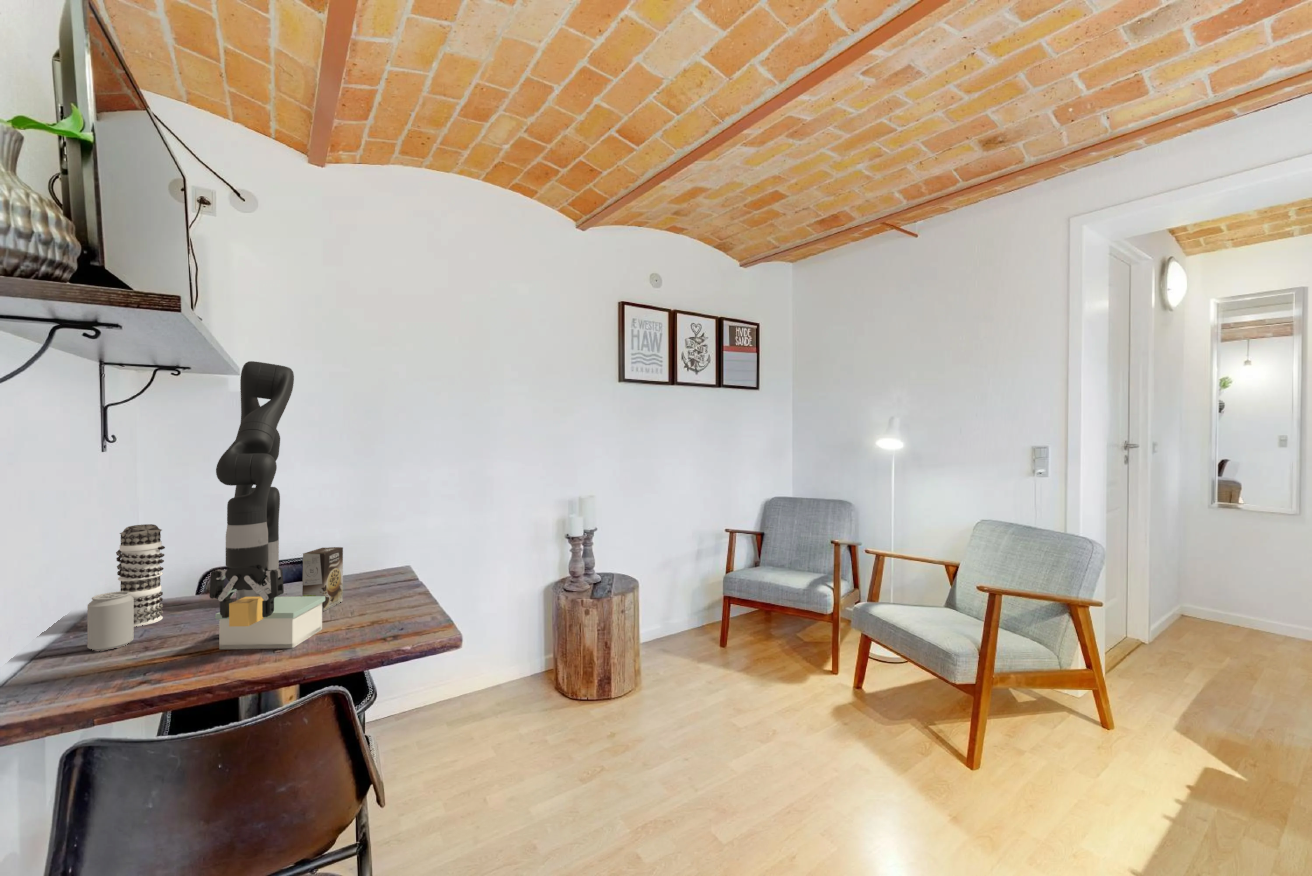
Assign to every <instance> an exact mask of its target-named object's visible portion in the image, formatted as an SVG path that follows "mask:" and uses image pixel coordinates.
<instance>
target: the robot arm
mask: <svg viewBox="0 0 1312 876" xmlns="http://www.w3.org/2000/svg"><path fill="white" fill-rule="evenodd" d="M242 366H243V367H242V368H241V372H240V385H239V386H240V425H239V427H238V431H237V435H236V437H235V440H234V441H233V442H232V444H230V446H229V447H228V448H227V449H226V450H225V451H224V453H223V454H222V455H221V456H220V458H219V459H218V462H217V464H216V466H215V475H216V478H217V479H218V481H219V482H220V483H221V484H223V485H226V486H235V490H234V497H232V498H229V500H228V502H227V507H226V510H227V511H226V523H227V524H226V531H225V567H226V569H224V568H220V569H215V570H214V571H211V573H210V580H209V581H210V583H209V599H216V600H217V601H219V612H220V615H222V618H228V617H229V603H232V602H233V598H232V597H233V595H234V594H235V593H236V594H235V598H236V599H235V601H236V600H239V599H241V598H244V597H262V598H263V601H262V617H268V616H270V615H271V614H272V613H273V612H274V598H275V597H280V596H281V595H283V594H284V592H285V590H284V575H283V573H284V572H283V571H284V570H283V568H281V567H280V565H279V563H280V561H279V558H280V554H279V553H280V550H279V548H280V547H279V546H280V545H279V544H280V541H279V539H280V537H279V535H280V533H279V530H280V529H279V528H280V527H279V525H280V524H279V521H280V506H281V494H280V490H279V489H278V488H277V487H276V486H272V484H273V482H274V478H275V476H276V472H277V468H278V467H277V462H276V461H277V460H278V458H279V456H280V455H279V454H280V445H281V434H280V433H279V431H278V429H277V428H278V424H279V423H280V421H281V418H282V417H283V414H284V412H285V410H286V407H287V405H288V404H289V401H290V399H291V396H292V393H293V389H294V383H295V374H294V371H293V369H292V368H290V367H288V366H286V365H285V366H284V365H280V364H275V363H274V364H273V363H269V362H260V361H253V360H250V361H247V362H245V363H244V364H243V365H242ZM259 399H264V400H265V399H266V400H269V401H267V402H265V403H264V404H263V405H260V403H259V402H260V401H259ZM253 486H254V487H253ZM226 579H227V580H228V582H227V584H226V586H225V580H226ZM224 586H225V587H224Z"/></svg>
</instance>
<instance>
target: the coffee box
mask: <svg viewBox="0 0 1312 876" xmlns="http://www.w3.org/2000/svg"><path fill="white" fill-rule="evenodd" d="M343 561H344V547H341V546H337V547H336V546H331V547H330V546H329V547H319V548H316V549H314V550H310V551H307V552H303V553H302V596H325V601H324V602H322V612H325V611H327V610H330V609H332V608H333V607H335V606H337V605H339V604H341V603H343V602H342V601H343V598H344V592H343V591H344V589H343V588H344V587H343V585H344V584H343V583H344V576H343V574H344V570H343V569H344V562H343ZM340 602H341V603H340ZM336 604H337V605H336Z"/></svg>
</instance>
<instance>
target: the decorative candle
mask: <svg viewBox="0 0 1312 876" xmlns="http://www.w3.org/2000/svg"><path fill="white" fill-rule="evenodd" d="M162 531H163V529H161V528H159V526H158V525H156V524H148V523H147V524H136V525H130V526H127V527H125V528H124V529H123V531H122V532H119V534H120V544H119V549H118V550H117V551H116V552H115V553H116V556H117V557H116V558H115V559H116V562H118V563H119V564H117V566H116V568H117V570H118V571H117V574H116V575H117V576H119V577H117V580H118V581H119V582H120V584H119V585H120V590H119V592H120V591H127V592H130V594H129V595H130V596H131V597H133V598H134V628H136V626H137V627H142V625H143V626H146V625H151V624H155V623H158V622H160V621H162V620H163V618H164V617H163V616H162V615H163V613H164V611H163V610H162V609H163V607H164V605H163V603H161V602H163V600H164V598H163V597H162V596H163V595H164V594H163V591H162V585H161V580H162V579H161V576H162V575H163V574H164V573H163V570H164V567H163V566H161V564H163V563H164V562H165V560H164V559H163V557H164V556H165V553H162V550H165V549H166V546H164V545H162V544H163V543H162V540H161V538H162V537H161V536H162V535H161V532H162Z"/></svg>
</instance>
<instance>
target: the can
mask: <svg viewBox="0 0 1312 876" xmlns="http://www.w3.org/2000/svg"><path fill="white" fill-rule="evenodd" d="M129 594H130V592H127V591H120V590H119V591H111V592H105V593H101V594H96V595H94V596H92V597H91V601H89V603H88V604H87V613H86V614H87V618H86V619H87V620H86V621H87V624H86V625H87V641H86V643H87V649H89V650H91V649H92V651H93V650H107V649H112V648H117V647H121V646H124V647H126V646H128V645H129V644H130V643H131V642H132V641H133V640H134V638H135V636H134V635H135V634H134V633H135V632H134V630H135V627H134V598H133V597H131V596H130V595H129ZM128 643H129V644H128ZM127 644H128V645H127ZM125 645H126V646H125ZM121 648H122V647H121Z"/></svg>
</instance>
